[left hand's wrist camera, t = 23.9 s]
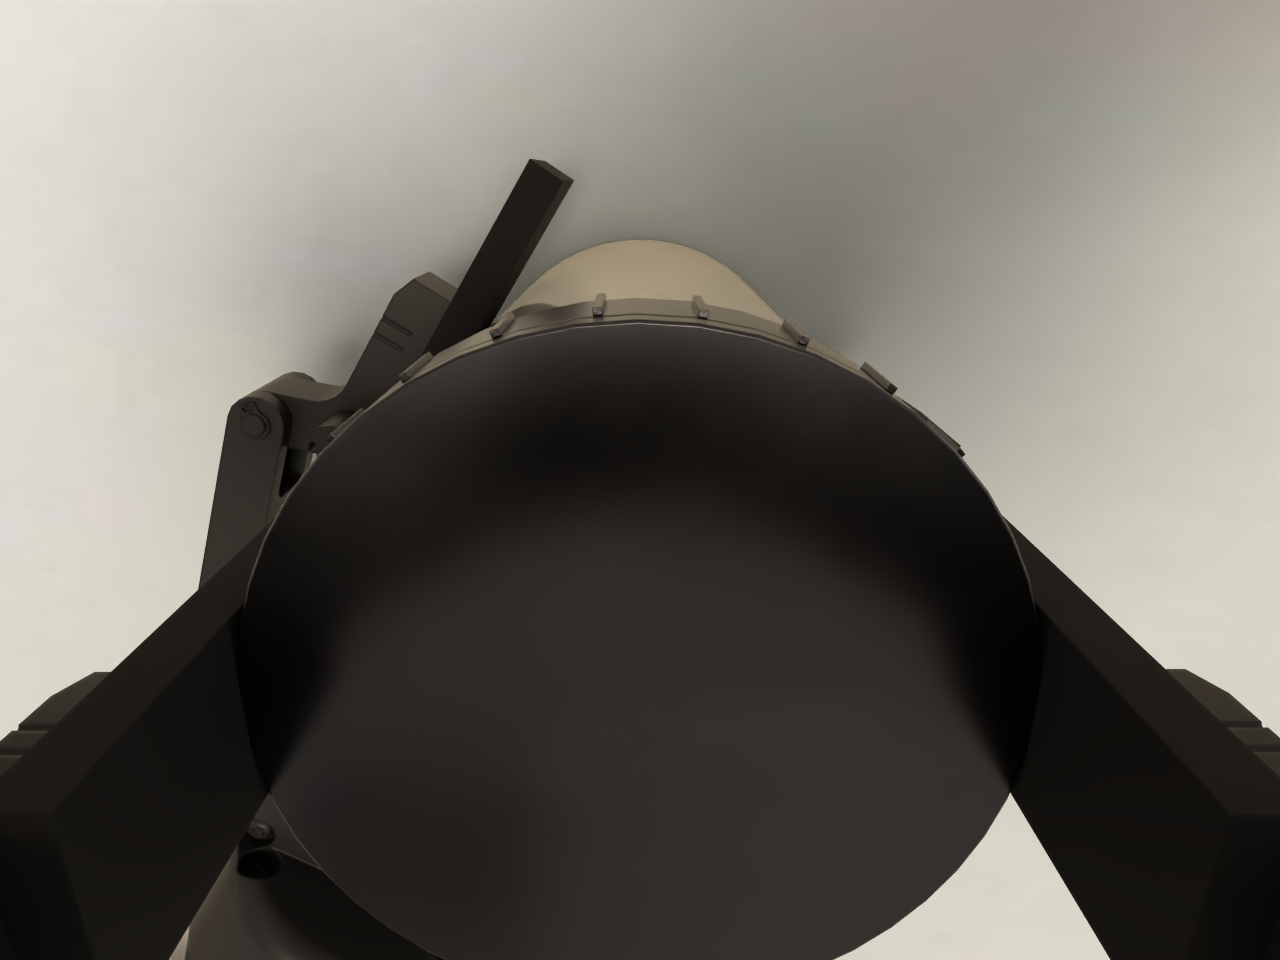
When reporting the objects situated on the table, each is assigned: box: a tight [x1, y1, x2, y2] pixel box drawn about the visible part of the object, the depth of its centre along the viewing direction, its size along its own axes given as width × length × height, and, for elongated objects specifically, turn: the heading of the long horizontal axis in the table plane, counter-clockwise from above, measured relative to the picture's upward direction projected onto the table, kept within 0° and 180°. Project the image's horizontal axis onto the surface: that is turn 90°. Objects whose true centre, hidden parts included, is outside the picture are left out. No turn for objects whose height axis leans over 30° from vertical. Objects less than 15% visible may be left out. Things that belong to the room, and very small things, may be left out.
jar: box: [489, 240, 784, 328], centre depth 18 cm, size 9×9×15 cm
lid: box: [238, 293, 1041, 960], centre depth 11 cm, size 10×10×2 cm
